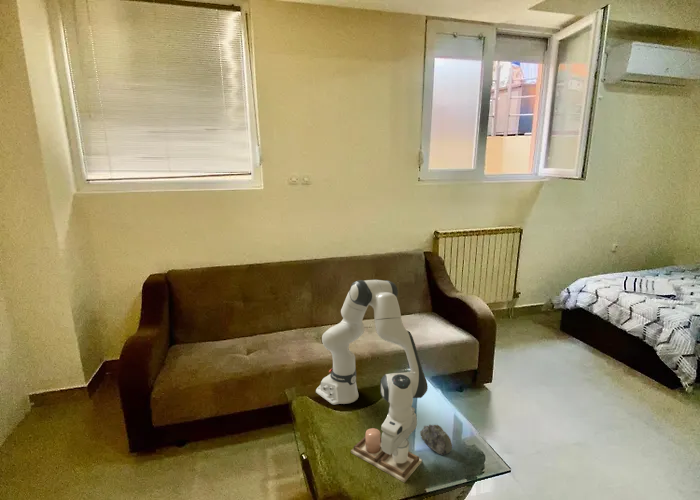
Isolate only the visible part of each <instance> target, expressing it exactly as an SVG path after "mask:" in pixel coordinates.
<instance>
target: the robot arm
mask: <svg viewBox="0 0 700 500" xmlns="http://www.w3.org/2000/svg"><path fill="white" fill-rule="evenodd" d="M398 295H399V290H398V287H397V285H396V283H394V282H393V281H391V280H382V279H366V280H363V279H359V280H356V281H354V282H352V283H351V285H350V287H349V291H348V292H347V295H346V297H345V299H344V301H343V305H342V307H341V309H340V315H341V317H342V320H341V321H340V322H338V323H337V324H335V325H333V326H331V327H329V328H328V329H327V330H326V331H324V332H323V334H322V335H321V342H322V344H323V345H322V346H323V347H324V348H325V349H326V350H327V351H330V353H331V358H332V367H331V368H330V369H329V370H328V373H329V374H327V376H324V377H323V378H322V380H321V381H320V384H319V386H318V387H317V388H316V389H315V394H317V395H319V396H320V397H322V399H324V400H326V401H327V402H329V404H331V405H339V404H341V405H342V404H343V405H345V404H351V403H354V402H356V401H357V400H358V398H359V392H358V386H357V369H356V355H355V353H354V352H353V351H351V350H350V349H349V348H350V344H351V343H353V342H355V341H357V340H358V339H359V338H360V337H361V336H363V334H364V333H365V325H364V322H363V320H364V318H365V315H366V312H367V309H368V308H369V306H370V307H371V308H372V309H373V319H374V327H375V331H376V334H377V336H378V337H379V338H380V339H381V340H383V341H385V342H387V343H391V344H394V345H397V346H399V347H401V348H402V349H403V350H404V352H405V354H406V358H407V361H408V362H407V363H408V365H409V368H410V371H406V372H392V373H385V374H384V375H383V376H382V377H381V379H380V383H379V384H380V385H379V386H380V390H379V391H380V395H381V397H382V398H383V399H384V401H386V402H387V403H389V407H388V413H387V416H386V418H385V419H384V421H383V423H382V424H381V427H380V429H381V430H380V431H382V433H381V437H380V438H381V446H382V450H383V451H384V452H385V453H387V454H389V455H391V454H393V455H394V456H397V455H398V452H397V448H398V446H399V445H400V444H401V443H402V442H403V441H404V440H405V439H407V440H408V441H409V437H410V435H411V434H412V433H414V431H415V430H416V428H417V427H418V426H417V425H418V420H417V413H415V411H416V409H415V408H414V407H412V406H413V402H414V399H421V398H423V397H424V396H425V394H426V393H427V392H428V381H427V378H426V376H425V373H424V370H423V368H422V364H421V361H420V357H419V354H418V350H417V347H416V344H415V343H416V342H415V341H414V337H413V336H412V333H411V332H410V331H409V330H407V329H406V327H405V325H404V324H403V321H402V314H401V309H400V308H401V307H400V305H399V301H398Z"/></svg>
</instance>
